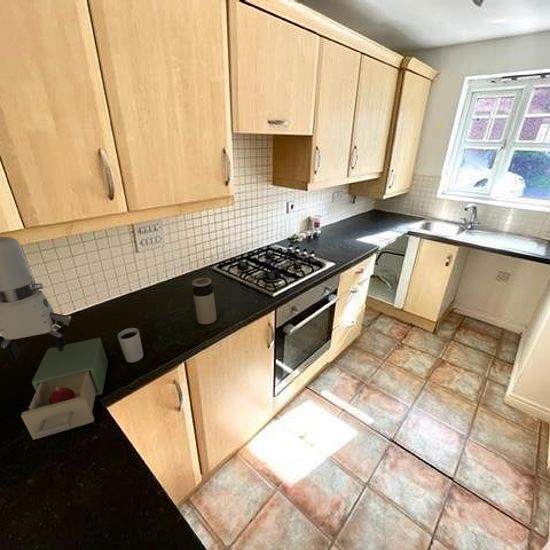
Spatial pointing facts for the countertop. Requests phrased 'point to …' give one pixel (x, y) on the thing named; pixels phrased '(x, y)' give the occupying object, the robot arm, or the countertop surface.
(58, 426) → the drawer
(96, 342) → the cabinet
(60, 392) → the onion
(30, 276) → the robot arm
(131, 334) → the grey cup
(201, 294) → the travel mug
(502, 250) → the countertop surface
